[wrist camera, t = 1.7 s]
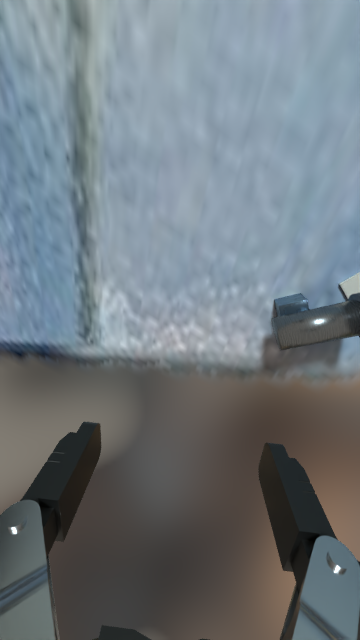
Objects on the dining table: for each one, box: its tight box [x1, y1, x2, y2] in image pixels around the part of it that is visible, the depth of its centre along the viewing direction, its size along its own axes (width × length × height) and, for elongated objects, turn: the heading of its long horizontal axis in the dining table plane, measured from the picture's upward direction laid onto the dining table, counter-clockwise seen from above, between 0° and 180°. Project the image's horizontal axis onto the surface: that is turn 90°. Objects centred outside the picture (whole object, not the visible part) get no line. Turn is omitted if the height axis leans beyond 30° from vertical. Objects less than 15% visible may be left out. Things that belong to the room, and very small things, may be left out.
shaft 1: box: [272, 292, 360, 350], centre depth 26 cm, size 9×5×6 cm, turn 108°
